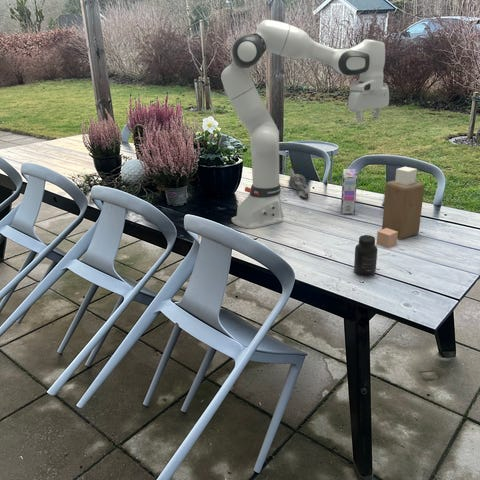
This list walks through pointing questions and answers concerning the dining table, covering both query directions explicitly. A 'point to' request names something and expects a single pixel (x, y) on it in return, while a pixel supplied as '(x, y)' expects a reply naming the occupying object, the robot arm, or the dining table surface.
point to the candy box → (348, 191)
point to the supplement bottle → (365, 256)
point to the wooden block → (403, 208)
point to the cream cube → (406, 175)
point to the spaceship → (299, 184)
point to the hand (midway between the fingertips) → (367, 120)
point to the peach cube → (387, 237)
